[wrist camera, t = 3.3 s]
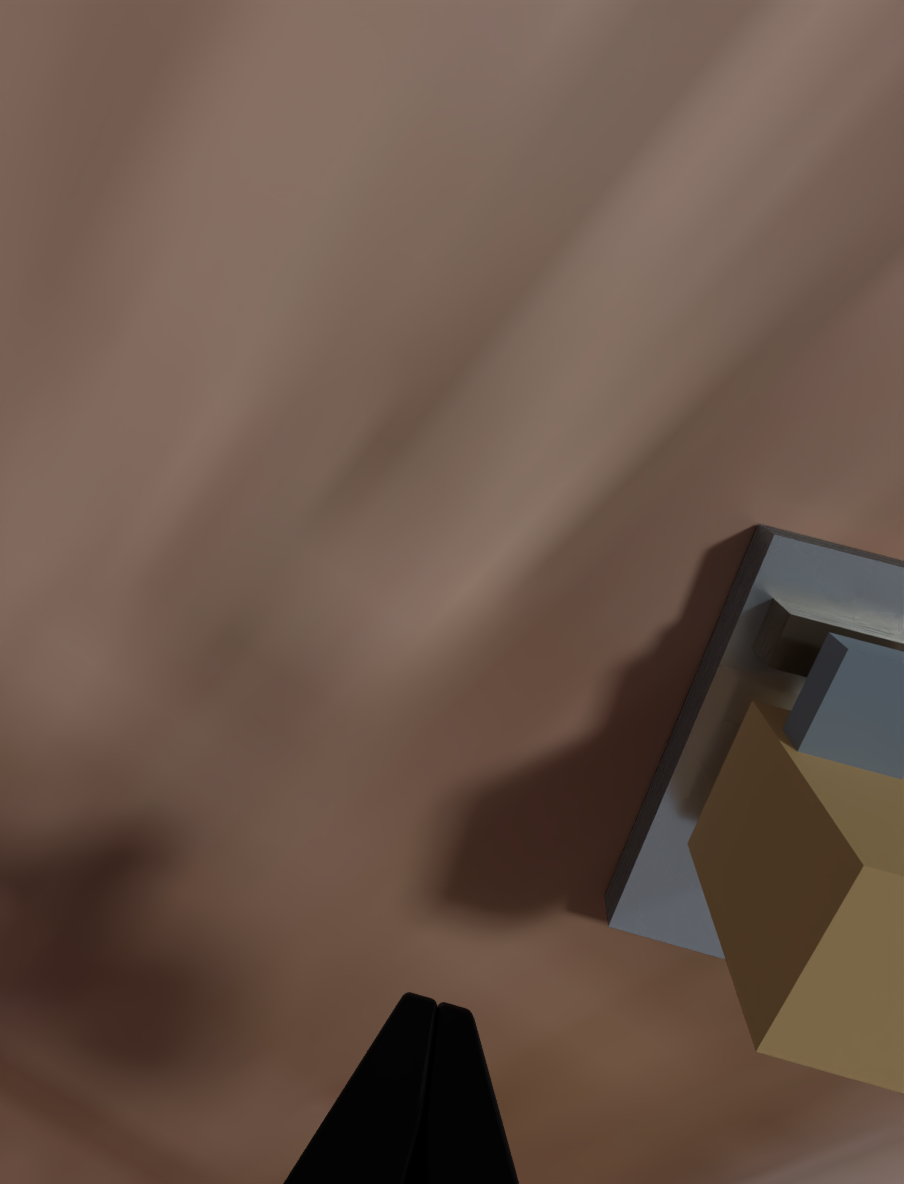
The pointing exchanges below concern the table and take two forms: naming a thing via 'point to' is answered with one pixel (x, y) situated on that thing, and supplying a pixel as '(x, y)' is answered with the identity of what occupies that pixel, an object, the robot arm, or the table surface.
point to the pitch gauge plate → (744, 709)
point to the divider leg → (816, 866)
